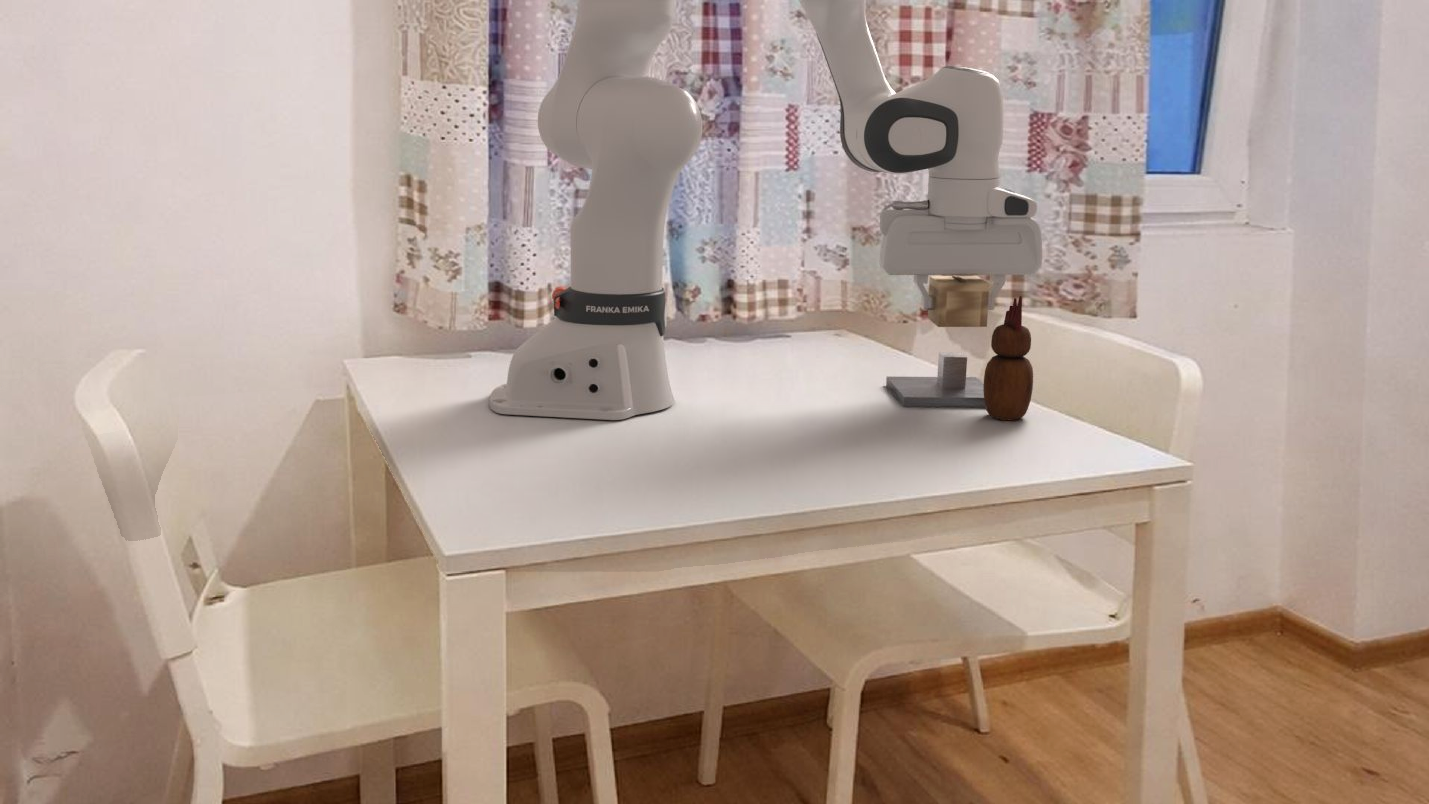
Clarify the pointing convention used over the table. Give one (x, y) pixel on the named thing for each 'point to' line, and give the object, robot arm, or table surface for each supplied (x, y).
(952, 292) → the wooden coin bank
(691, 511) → the table surface
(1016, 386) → the wooden figurine
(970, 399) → the plate
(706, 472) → the table surface
